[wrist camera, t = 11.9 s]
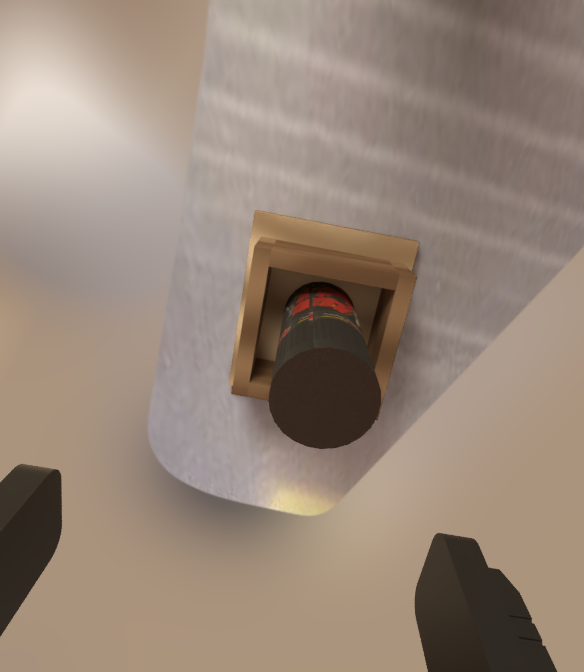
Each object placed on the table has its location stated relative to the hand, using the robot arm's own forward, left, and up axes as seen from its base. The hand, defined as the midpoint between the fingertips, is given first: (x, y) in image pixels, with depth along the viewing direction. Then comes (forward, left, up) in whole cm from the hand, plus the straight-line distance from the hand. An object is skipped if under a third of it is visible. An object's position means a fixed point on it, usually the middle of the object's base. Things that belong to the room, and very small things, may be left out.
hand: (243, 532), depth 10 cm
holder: (+4, +3, -30) cm, 31 cm away
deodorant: (+4, +3, -30) cm, 30 cm away
